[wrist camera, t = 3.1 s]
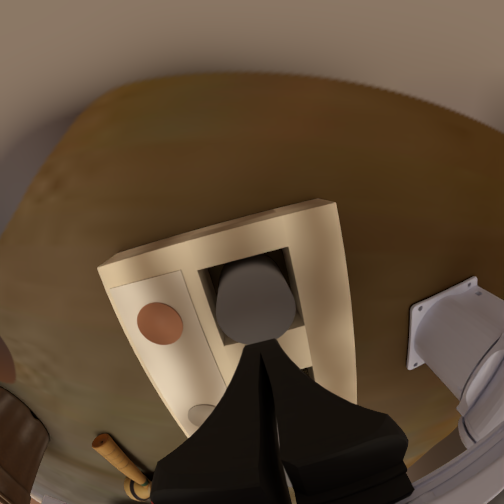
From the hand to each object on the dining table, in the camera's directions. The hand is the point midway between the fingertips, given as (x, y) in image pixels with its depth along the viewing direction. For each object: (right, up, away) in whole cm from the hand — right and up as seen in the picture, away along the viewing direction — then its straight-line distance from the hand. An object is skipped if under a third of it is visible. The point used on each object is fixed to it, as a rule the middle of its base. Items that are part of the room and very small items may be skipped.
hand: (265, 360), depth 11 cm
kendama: (-15, -25, +16) cm, 33 cm away
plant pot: (-36, -20, +13) cm, 43 cm away
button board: (0, -6, +11) cm, 13 cm away
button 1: (-1, +2, +8) cm, 9 cm away
